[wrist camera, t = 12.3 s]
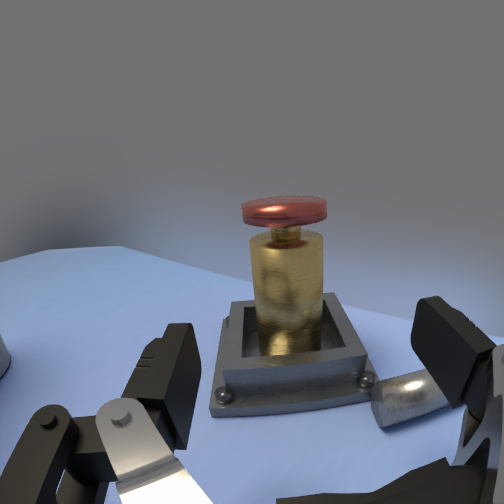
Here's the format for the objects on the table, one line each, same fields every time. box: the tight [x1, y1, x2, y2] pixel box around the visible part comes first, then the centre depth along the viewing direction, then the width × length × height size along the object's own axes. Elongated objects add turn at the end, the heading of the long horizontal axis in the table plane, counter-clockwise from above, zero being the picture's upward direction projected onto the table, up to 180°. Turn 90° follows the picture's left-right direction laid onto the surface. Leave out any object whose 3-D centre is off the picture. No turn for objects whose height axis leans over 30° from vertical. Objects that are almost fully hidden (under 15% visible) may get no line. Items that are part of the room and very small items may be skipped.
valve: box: [242, 196, 327, 357], centre depth 21 cm, size 6×6×12 cm
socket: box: [209, 293, 380, 417], centre depth 23 cm, size 12×12×4 cm
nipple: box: [371, 369, 450, 427], centre depth 15 cm, size 8×3×3 cm
